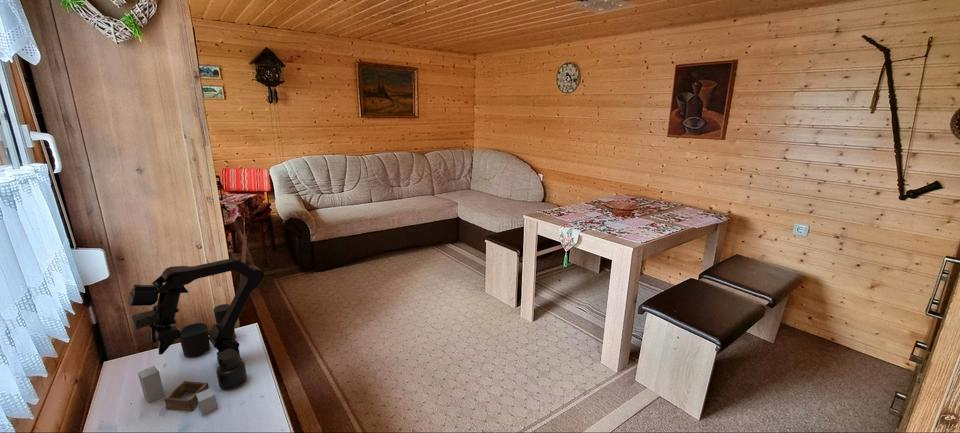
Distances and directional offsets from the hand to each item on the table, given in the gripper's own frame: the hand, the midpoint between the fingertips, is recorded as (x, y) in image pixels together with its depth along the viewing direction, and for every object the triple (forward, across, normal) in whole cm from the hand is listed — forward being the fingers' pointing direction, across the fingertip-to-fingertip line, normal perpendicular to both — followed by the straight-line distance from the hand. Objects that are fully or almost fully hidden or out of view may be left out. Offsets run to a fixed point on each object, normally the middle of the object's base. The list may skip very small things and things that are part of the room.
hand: (157, 348), depth 138 cm
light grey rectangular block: (+16, +2, +2) cm, 17 cm away
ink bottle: (+10, +14, +21) cm, 27 cm away
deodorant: (+7, -16, +29) cm, 33 cm away
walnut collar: (+14, +13, +9) cm, 21 cm away
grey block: (+13, +21, +12) cm, 27 cm away
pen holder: (+11, -16, +18) cm, 26 cm away
